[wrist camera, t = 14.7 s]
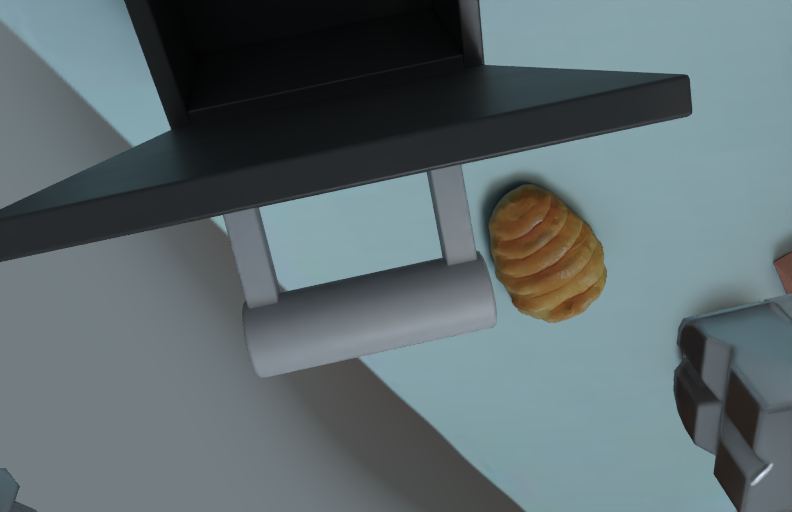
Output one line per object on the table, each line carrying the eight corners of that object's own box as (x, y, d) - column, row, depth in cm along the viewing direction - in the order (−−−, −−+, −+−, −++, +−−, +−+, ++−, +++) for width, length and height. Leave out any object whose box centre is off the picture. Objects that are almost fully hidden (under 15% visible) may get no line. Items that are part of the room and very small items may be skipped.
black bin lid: (-40, 226, 13) (47, 465, 15) (691, 73, 14) (712, 318, 15) (169, 130, 31) (200, 242, 33) (486, 64, 32) (504, 177, 33)
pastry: (456, 213, 46) (471, 248, 43) (553, 157, 45) (576, 187, 42) (519, 308, 51) (536, 345, 48) (607, 260, 50) (631, 294, 47)
